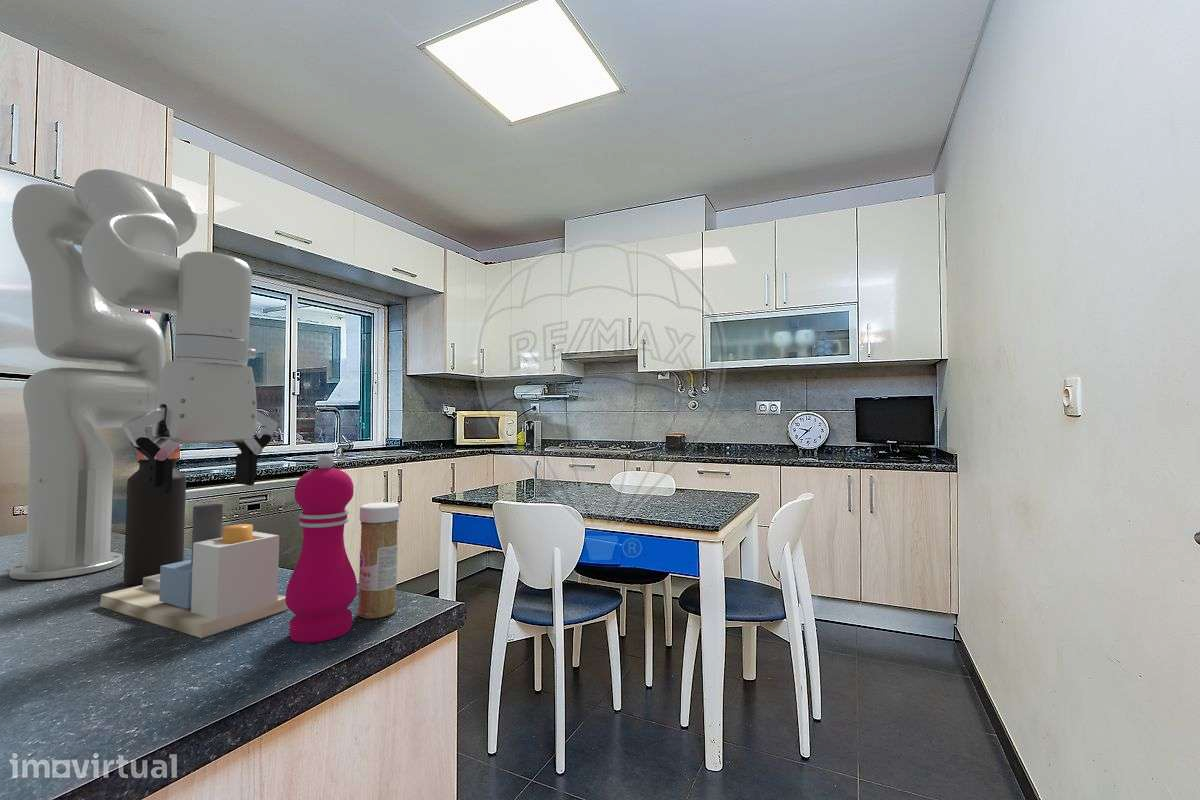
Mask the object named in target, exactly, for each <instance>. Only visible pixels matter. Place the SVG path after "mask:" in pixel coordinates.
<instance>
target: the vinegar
mask: <svg viewBox="0 0 1200 800" xmlns="http://www.w3.org/2000/svg"><path fill="white" fill-rule="evenodd" d="M136 460H137V461H136V463H138V464H139V466H138V470H136V471H135V472H134V473H133V474H132V475H130V477H128V478H127V481H126V482H127V483H126V504H125V505H126V511H125V515H126V516H125V530H124V532H125V533H124V536H125V537H124V559H123V560H124V561H123V562H124V563H123V565H124V567H123V584H124V585H125V586H128V587H136V586H140V585H143V578H144V577H148V576H153V575H158V574H160V566H163V565H168V564H172V563H177V562H182V561H184V557H185V555H184V551H185V524H186V523H185V522H186V495H187V494H186V493H187V477H186V475H185V474H183V473H182V472H181V471H180V470H179V469H178V468H177V462H179V461H180V445H179V446H178V447H177V448H176V449H175V450H174V451H173V452H172V453H171V454H170V455H169V456H168V460H172V462H173V473H172V491H171V493H169V494H165V495H162V494H157V493H152V492H151V491H150V487H149V486H148V484H147V480H148V462H149V459H146V458H145V457H144V456H143V454H142V453H141V452H139V451H138V450H137V449H136Z"/></svg>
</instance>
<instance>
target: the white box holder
mask: <svg viewBox="0 0 1200 800" xmlns="http://www.w3.org/2000/svg"><path fill="white" fill-rule="evenodd" d="M222 540H223V536H222V538H217V539H211V540H206V541H201V542H195V543H193V568H192V599H191V613H195V614H198V615H202V616H205V617H209V618H212V619H216V620H217V619H221V618H224V617H227V616H230V615H234V614H237V613H240V612H243V611H246V610H250V609H253V608H256V607H259V606H262V605H266V604H269V603H272V602H275V601H278V595H279V594H278V593H279V560H280V558H279V557H280V535H279V534H273V533H266V532H259V531H253V540H250V541H245V542H240V543H234V544H226V543H222Z"/></svg>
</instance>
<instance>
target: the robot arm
mask: <svg viewBox="0 0 1200 800" xmlns="http://www.w3.org/2000/svg"><path fill="white" fill-rule="evenodd" d="M73 187H74V188H73V189H72V188H68V187H64V186H58V185H53V184H45V183H32V184H28V185H25V186H23V187H22V188H20V189H19V191H17V193H16V195H15V197H14V200H13V203H12V211H11V219H12V221H11V222H12V223H11V224H12V229H13V234H14V238H15V240H16V243H17V247H18V248H19V252H20V253H21V256H22V258H23V259H24V262H25V264H26V267H27V269H28V272H29V276H30V282H31V301H32V304H31V305H32V319H33V333H34V339H35V344H36V347H37V349H38V351H39V352H40V354H42V355H43V356H45V357H47V358H50V359H53V360H57V361H63V362H73V363H85V364H97V365H108V366H109V365H110V366H119V367H121V368H122V370H111V369H97V368H87V367H86V368H84V367H64V366H63V367H52V368H45V369H42V370H39V371H37V372H35V373H32V375H31V376H29V378H27V380H26V381H25V384H24V385H23V390H22V391H23V392H22V398H23V405H24V406H23V407H24V410H25V411H24V412H25V417H26V422H27V428H28V438H29V443H28V444H29V458H28V460H29V461H28V462H29V463H28V464H29V465H28V471H29V472H28V491H27V514H26V516H27V518H26V537H25V539H26V540H25V558H24V559H25V561H24V562H23V563H20V564H17V565H14V566H13V567H11V568H10V569H9V574H8V575H9V578H11V579H13V580H19V581H21V580H22V581H37V580H38V581H39V580H40V581H41V580H52V579H59V578H69V577H75V576H81V575H86V574H91V573H95V572H100V571H104V570H108V569H110V568H113V567H116V566H119V565H120V564H121V563H122V562H124V561H123V560H124V559H123V557H124V556H123V554H122V553H119V552H114V551H111V542H112V540H111V539H112V537H111V536H112V518H113V517H112V514H113V513H112V512H113V490H114V487H113V486H114V485H113V484H114V482H113V481H114V454H113V452H112V450H111V448H110V447H109V445H108V444H107V442H105V441H104V439H103V438H102V437H101V436H100V435H99V434H98V433H97V432H96V431H95V429H107V428H108V429H110V428H111V429H112V428H114V429H115V428H122V430H123V431H124V433H125V434H126V436H127V438H128V439H129V441H130V445H131V446H132V447H133V448H134V449H136V451H137V450H138V451H139V452H141V453H142V454H143V456H144V457H145V458H146V459H149V462H148V480H147V484H148V486H149V487H150V491H151V492H152V493H157V494H162V495H165V494H169V493H171V491H172V473H173V462H172V460H168V456H169V455H170V454H171V453H172V452H173V451H174V450H175V449H176V448H177V447H178V446H179V447H180V445H181V444H208V443H209V444H213V443H214V444H215V443H216V444H217V443H233V444H235V446H236V447H237V448H238V449H239V451H240V453H237V454H236V457H235V458H236V459H235V473H234V474H235V475H234V477H235V478H234V482H235V484H237V485H244V486H254V485H255V483H256V480H255V479H256V477H257V474H258V472H257V471H258V456H259V455H261V454H262V453H263V449H264V448H265V447H266V446H267V445H268V444H269V443H271V441H272V436H274V434H275V432H276V430H277V428H278V426H279V422H278V421H276V420H274V419H272V418H271V417H269V416H267V415H266V414H263V413H262V412H260V411H258V410H257V408H258V406H257V390H256V382H255V376H254V372H253V368H252V366H248V363H249V360H250V359H253V360H254V359H256V357H257V356H258V353H257V350H256V349H255V348H251V347H250V342H249V341H250V340H249V338H250V337H249V336H250V319H251V304H252V303H251V302H252V301H251V300H252V299H251V298H252V280H253V276H252V275H253V273H252V269H251V267H250V266H249V264H248V263H247V262H246V261H244V260H242V259H241V258H238V257H234V256H232V255H228V254H223V253H218V252H213V251H212V252H211V251H190V252H188V253H185V254H184V255H183V256H182V257H176V256H173V255H172V253H174V252H175V250H176V249H177V248H178V247H180V246H182V245H183V244H185V243H187V242H188V241H190V239H191V238H192V237H193V235H194V234H195V233H196V229H197V226H198V214H197V211H196V208H195V206H194V203H192V201H191V200H190V198H189V197H187V196H186V195H185V194H184V193H182V192H180V191H178V190H175V189H173V188H170V187H167V186H163V185H161V184H158V183H154V182H151V181H150V180H145V179H143V178H139V177H136V176H134V175H131V174H128V173H124V172H121V171H118V170H113V169H105V168H102V169H101V168H98V169H92V170H88V171H85V172H83V173H82V174H81V175H79V177H78V178H77V179H76V181H75V184H74V186H73ZM76 245H77V246H79V247H80V246H81V252H80V251H79V250H78V249H77V248H76V247H75V246H76ZM106 300H107V301H108V302H110V303H111V304H113V305H116V306H120V307H123V308H125V309H127V308H128V309H134V310H139V311H147V312H154V313H161V314H168V315H174V316H176V326H175V337H174V338H175V340H174V358H173V359H174V360H167V355H166V354H167V353H166V352H167V351H166V344H165V338H164V337H165V336H164V333H163V330H162V328H161V327H160V325H159V323H158V321H156V320H155V319H154V318H153V317H151V316H150V315H148V314H144V313H141V312H136V311H132V310H130V311H129V310H124V309H119V308H118V309H117V308H112V307H110V305H109V306H108V305H107V302H106ZM257 425H259V426H260V430H259V433H258V434H256V430H257ZM149 427H151V432H152V433H151V434H152V437H153V438H154V439H155V440H154V441H153V440H151V439H150V438H149V437H148V436H147V433H146V432H145V430H146V428H149ZM255 435H256V436H255Z"/></svg>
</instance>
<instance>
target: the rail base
mask: <svg viewBox="0 0 1200 800" xmlns="http://www.w3.org/2000/svg"><path fill="white" fill-rule="evenodd" d="M159 595H160V574H158V575H153V576H148V577H144V578H143V585H140V586H130V587H128V588H124V589H119V590H114V591H110V592H105V593H102V594H100V608H104V609H108V610H111V611H113V612H116V613H121V614H123V615H127V616H130V617H132V618H136V619H139V620H143V621H145V622H149V623H152V624H155V625H159V626H162V627H164V628H167V629H168V628H169V629H172V630H174V631H177V632H181V633H182V634H183V633H184V634H187V635H190V636H192V637H193V636H194V637H196V638H200V639H203V638H206V637H209V636H213V635H216V634H218V633H222V632H225V631H227V630H231V629H234V628H236V627H239V626H242V625H246V624H248V623H251V622H255V621H257V620H261V619H264V618H266V617H269V616H272V615H275V614H279V613H281V612H284V611H287V610H290V609H289V608H288V607H287V605H286V602H285V598H286V595H281V594H278V601H275V602H272V603H269V604H266V605H262V606H259V607H256V608H253V609H250V610H246V611H243V612H240V613H237V614H234V615H230V616H227V617H224V618H221V619H217V620H216V619H212V618H209V617H205V616H202V615H198V614H195V613H191V608H189V609H186V608H183V607H179V606H176V605H172V604H168V603H165V602H161V601H159Z"/></svg>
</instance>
